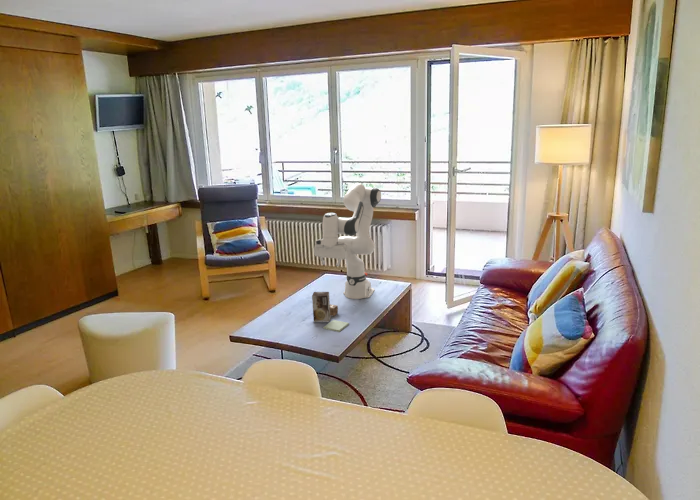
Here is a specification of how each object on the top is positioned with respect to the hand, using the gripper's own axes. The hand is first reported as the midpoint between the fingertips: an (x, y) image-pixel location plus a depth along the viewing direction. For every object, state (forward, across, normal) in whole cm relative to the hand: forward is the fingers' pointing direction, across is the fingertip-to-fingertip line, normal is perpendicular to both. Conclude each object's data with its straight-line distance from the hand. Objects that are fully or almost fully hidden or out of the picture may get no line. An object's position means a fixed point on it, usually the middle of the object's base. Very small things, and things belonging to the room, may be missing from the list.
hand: (330, 265), depth 288 cm
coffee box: (+30, +1, +9) cm, 32 cm away
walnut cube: (+30, 0, -1) cm, 30 cm away
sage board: (+31, -11, +14) cm, 35 cm away
